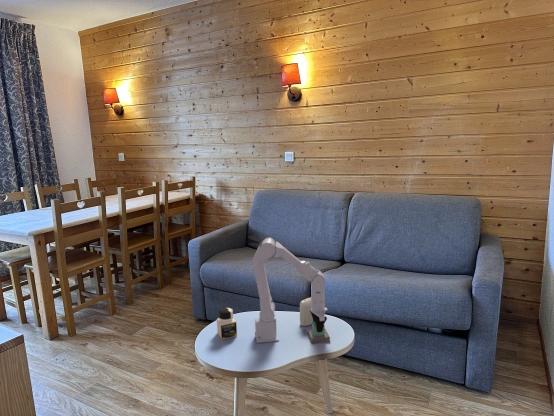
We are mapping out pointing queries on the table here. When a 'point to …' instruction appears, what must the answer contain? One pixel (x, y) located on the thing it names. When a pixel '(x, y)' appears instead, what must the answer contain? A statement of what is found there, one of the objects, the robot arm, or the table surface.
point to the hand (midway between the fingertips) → (318, 329)
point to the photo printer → (305, 312)
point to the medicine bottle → (226, 324)
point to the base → (318, 337)
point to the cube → (316, 330)
